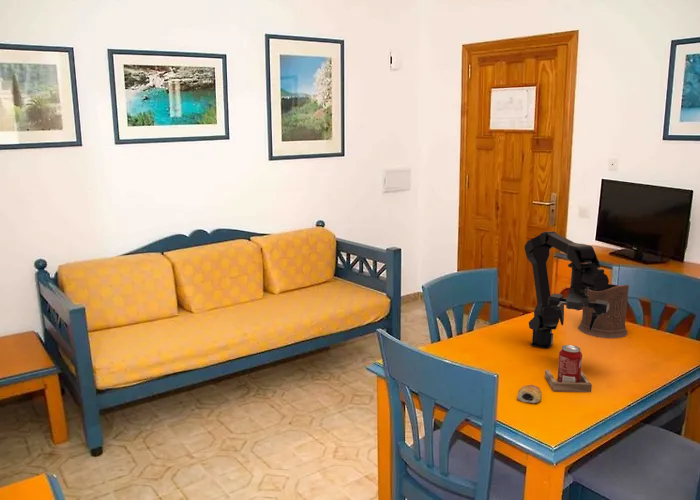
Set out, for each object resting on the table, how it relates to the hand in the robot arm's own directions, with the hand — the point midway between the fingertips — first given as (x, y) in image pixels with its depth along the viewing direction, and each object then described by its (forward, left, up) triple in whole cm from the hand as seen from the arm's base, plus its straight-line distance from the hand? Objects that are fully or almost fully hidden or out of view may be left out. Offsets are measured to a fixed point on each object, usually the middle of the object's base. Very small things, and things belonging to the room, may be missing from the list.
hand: (576, 327), depth 207 cm
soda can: (+2, -18, -13) cm, 22 cm away
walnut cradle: (+2, -18, -13) cm, 22 cm away
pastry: (-5, -34, -14) cm, 37 cm away
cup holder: (0, +42, -13) cm, 44 cm away
